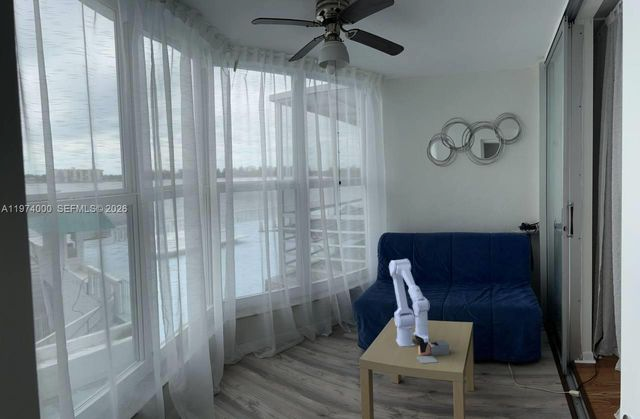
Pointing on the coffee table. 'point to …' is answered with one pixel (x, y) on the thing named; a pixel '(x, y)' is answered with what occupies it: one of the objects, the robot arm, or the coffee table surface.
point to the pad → (427, 359)
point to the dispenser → (439, 348)
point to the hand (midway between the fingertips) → (422, 351)
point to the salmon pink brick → (425, 351)
